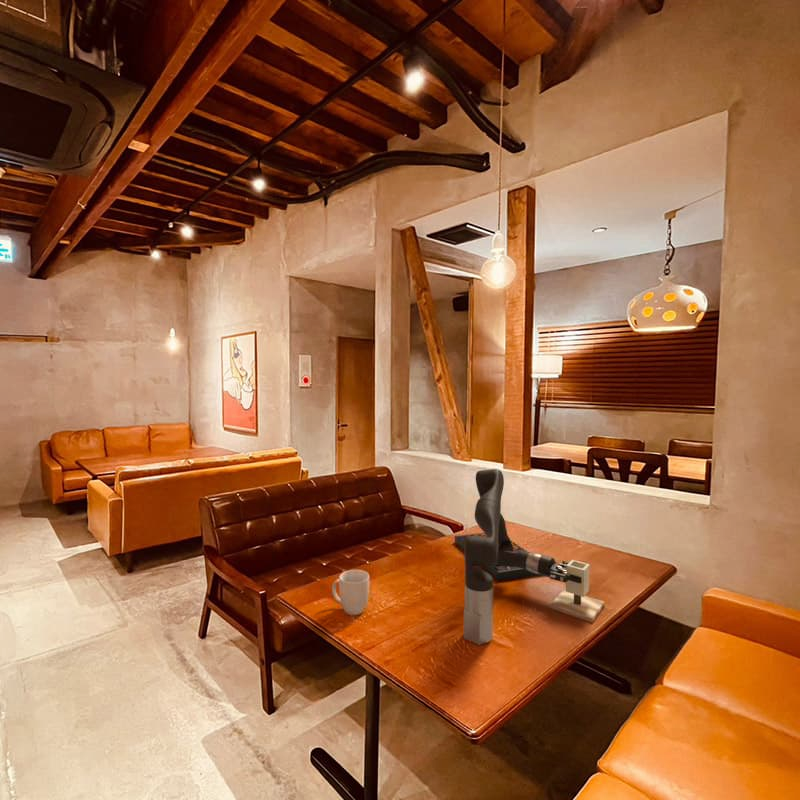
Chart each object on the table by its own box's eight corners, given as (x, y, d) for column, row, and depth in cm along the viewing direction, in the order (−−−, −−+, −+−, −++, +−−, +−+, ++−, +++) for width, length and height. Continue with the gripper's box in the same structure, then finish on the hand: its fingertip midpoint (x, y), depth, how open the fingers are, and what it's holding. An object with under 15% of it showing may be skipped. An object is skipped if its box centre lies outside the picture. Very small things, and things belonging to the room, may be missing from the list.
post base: (592, 622, 152) (592, 598, 152) (549, 608, 162) (550, 585, 161) (604, 605, 163) (604, 583, 163) (564, 592, 173) (564, 572, 173)
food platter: (547, 575, 190) (548, 552, 190) (497, 582, 183) (497, 558, 183) (496, 539, 233) (496, 520, 233) (454, 544, 226) (454, 524, 226)
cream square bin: (583, 597, 158) (584, 570, 157) (565, 591, 162) (566, 565, 161) (589, 590, 163) (589, 564, 162) (571, 585, 167) (572, 559, 166)
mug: (324, 612, 159) (324, 577, 158) (340, 598, 169) (340, 565, 168) (360, 621, 153) (360, 585, 152) (374, 606, 163) (374, 572, 162)
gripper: (533, 561, 166) (578, 574, 155) (547, 549, 177) (590, 560, 166) (532, 580, 166) (577, 594, 155) (547, 567, 177) (590, 580, 166)
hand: (584, 577), depth 161 cm, fingers closed on cream square bin, 6 cm apart
